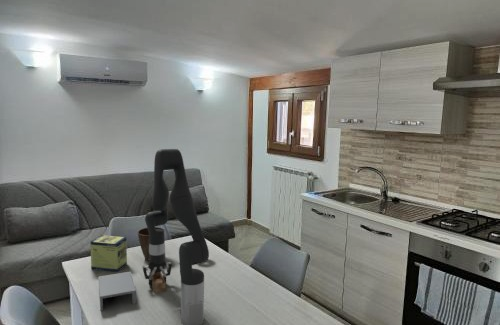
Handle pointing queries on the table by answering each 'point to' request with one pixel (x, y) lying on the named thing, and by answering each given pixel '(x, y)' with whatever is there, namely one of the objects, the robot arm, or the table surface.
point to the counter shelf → (116, 286)
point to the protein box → (108, 253)
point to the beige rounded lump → (158, 281)
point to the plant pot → (145, 241)
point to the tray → (160, 286)
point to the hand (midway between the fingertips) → (157, 284)
